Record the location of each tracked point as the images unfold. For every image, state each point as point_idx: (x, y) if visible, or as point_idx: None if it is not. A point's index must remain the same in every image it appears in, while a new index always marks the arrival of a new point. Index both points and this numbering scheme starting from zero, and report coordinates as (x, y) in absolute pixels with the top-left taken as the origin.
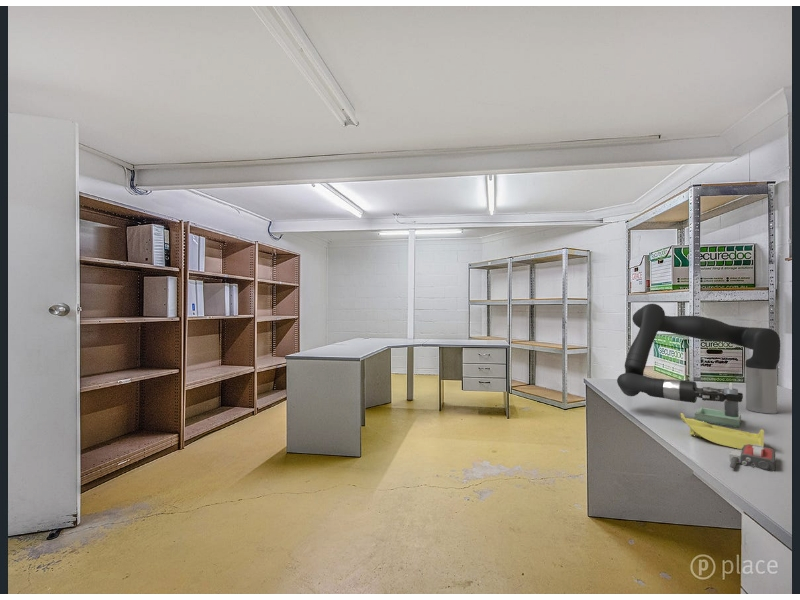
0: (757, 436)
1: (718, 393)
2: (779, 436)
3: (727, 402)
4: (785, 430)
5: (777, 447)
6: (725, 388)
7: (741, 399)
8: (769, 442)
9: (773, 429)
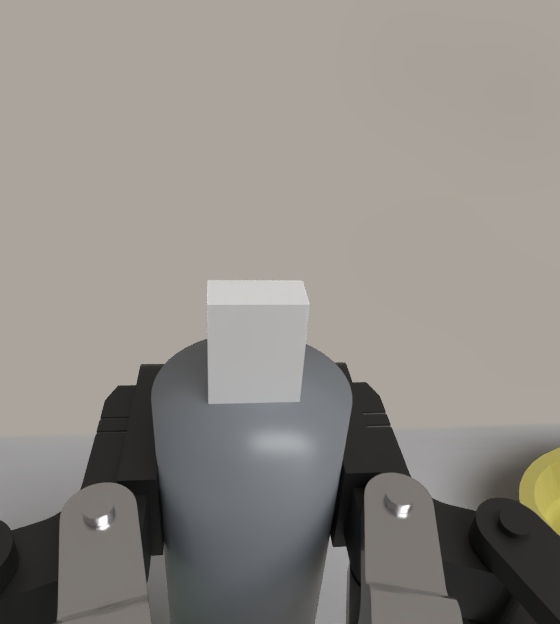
0: (542, 487)
1: (522, 573)
2: None
3: (319, 574)
4: (6, 437)
5: (488, 449)
6: (263, 446)
7: None
8: (419, 479)
9: (16, 481)
